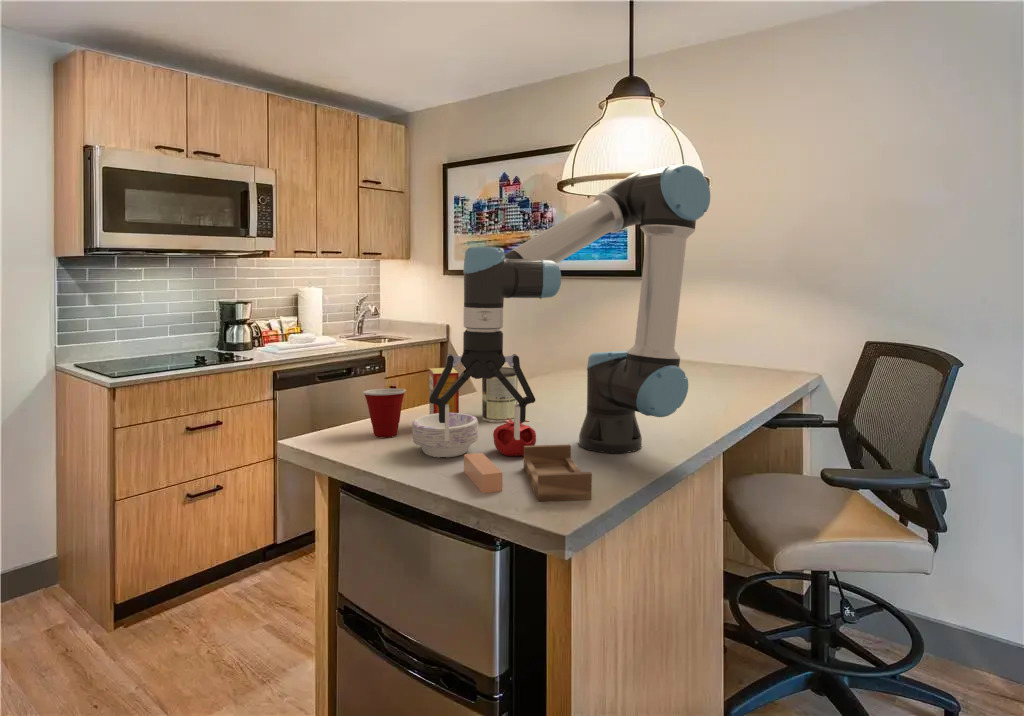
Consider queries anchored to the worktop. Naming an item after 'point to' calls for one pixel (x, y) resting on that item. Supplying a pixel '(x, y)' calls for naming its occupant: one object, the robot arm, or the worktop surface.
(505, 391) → the coffee can
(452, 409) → the baking soda box
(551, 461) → the wooden crate tray
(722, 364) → the worktop surface
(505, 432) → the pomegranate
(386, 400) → the plastic cup
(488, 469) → the orange rectangular block
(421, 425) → the paper bowls
